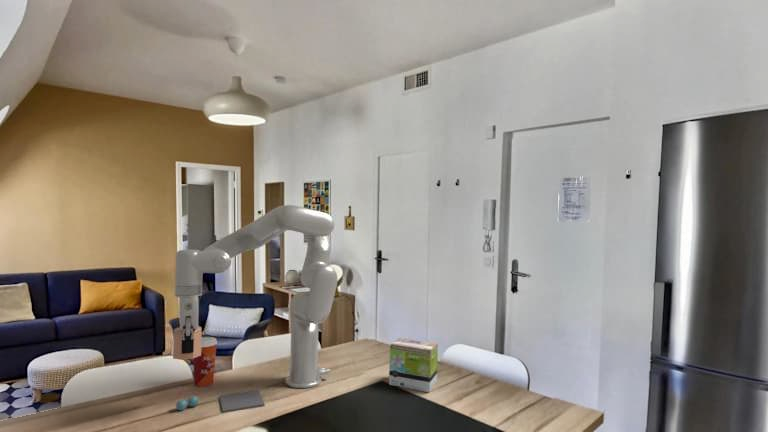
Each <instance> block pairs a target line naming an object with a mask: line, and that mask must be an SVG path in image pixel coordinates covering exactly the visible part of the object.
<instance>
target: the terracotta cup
mask: <svg viewBox="0 0 768 432" xmlns="http://www.w3.org/2000/svg"><path fill="white" fill-rule="evenodd" d="M191 328H192V327H191ZM184 329H186V328H184ZM202 331H203V330H202V326H200V325H198V329H197V330H196V329H194V328H193V339H194V351H193V353H186V354H182V353H181V350H182V340H183V331H181V330H180V326H178V327H176V328H174V329H173V343H172V344H173V348H172V359H175V360H179V361H181V360H182V361H183V360H193V358H196V357H198V356H201V338H202V336H203V335H202ZM190 332H191V331H190Z"/></svg>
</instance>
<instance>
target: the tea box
mask: <svg viewBox="0 0 768 432" xmlns="http://www.w3.org/2000/svg"><path fill="white" fill-rule="evenodd" d="M389 345H390V346H389V373H388V375H389V376H388V379H389V380H388V381H389V383H388V384H389V386H397V387H400V388H406V389H411V390H416V391H420V392H425V393H430V392H431V391H432V389H433V388H434V387H435V386H436V385H437V383H438V356H439V354H438V352H439V350H438V349H439V343H438V342H433V341H424V340H421V339H419V340H418V339H412V338H405V337H399V338H397V339H396V340H394V341H393V342H392V343H390V344H389ZM434 385H435V386H434Z"/></svg>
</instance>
